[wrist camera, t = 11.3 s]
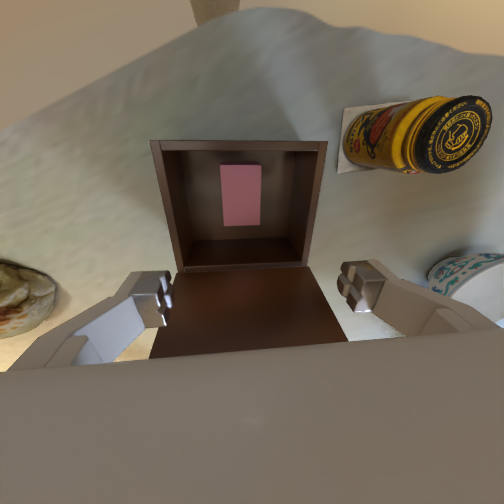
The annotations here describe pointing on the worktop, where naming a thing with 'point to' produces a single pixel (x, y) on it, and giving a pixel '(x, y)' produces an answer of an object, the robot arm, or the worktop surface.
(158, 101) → the worktop surface
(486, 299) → the chinaware
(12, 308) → the pastry
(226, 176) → the pink rectangular block
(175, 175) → the chest
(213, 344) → the chest lid
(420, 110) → the condiment
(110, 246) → the worktop surface
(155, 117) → the worktop surface
